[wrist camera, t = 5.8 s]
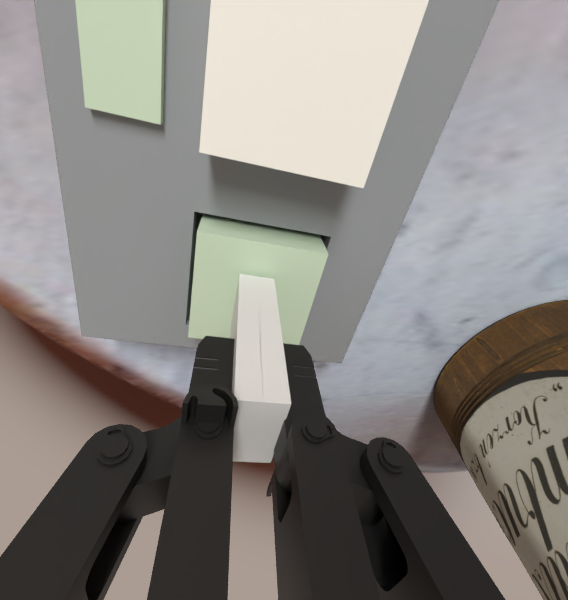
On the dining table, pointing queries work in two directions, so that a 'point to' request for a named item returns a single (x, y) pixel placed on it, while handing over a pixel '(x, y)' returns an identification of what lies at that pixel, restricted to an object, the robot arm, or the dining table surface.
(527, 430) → the wooden container
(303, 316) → the sage green key
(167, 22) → the console
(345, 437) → the robot arm
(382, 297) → the dining table surface
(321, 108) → the off-white key
